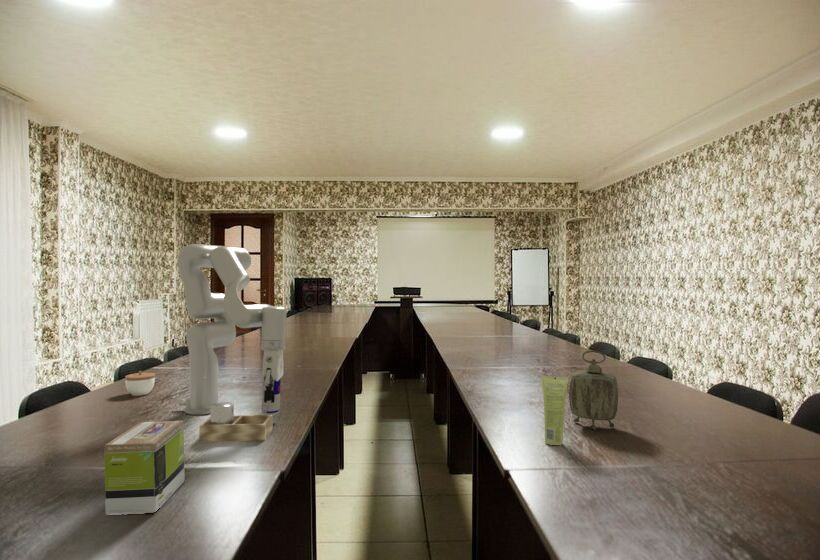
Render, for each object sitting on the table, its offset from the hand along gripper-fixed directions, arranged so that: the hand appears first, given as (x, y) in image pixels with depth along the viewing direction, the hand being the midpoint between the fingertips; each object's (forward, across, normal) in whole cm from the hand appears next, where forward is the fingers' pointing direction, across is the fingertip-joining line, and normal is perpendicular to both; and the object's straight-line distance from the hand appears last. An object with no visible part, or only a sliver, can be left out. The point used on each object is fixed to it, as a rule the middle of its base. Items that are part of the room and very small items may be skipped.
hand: (271, 399), depth 150 cm
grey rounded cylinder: (+7, -13, +11) cm, 19 cm away
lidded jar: (+12, +44, +63) cm, 78 cm away
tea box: (+8, -50, +15) cm, 53 cm away
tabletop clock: (+4, -10, -104) cm, 105 cm away
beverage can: (+5, 0, 0) cm, 5 cm away
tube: (+5, -23, -86) cm, 89 cm away
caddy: (+8, -13, +7) cm, 17 cm away
